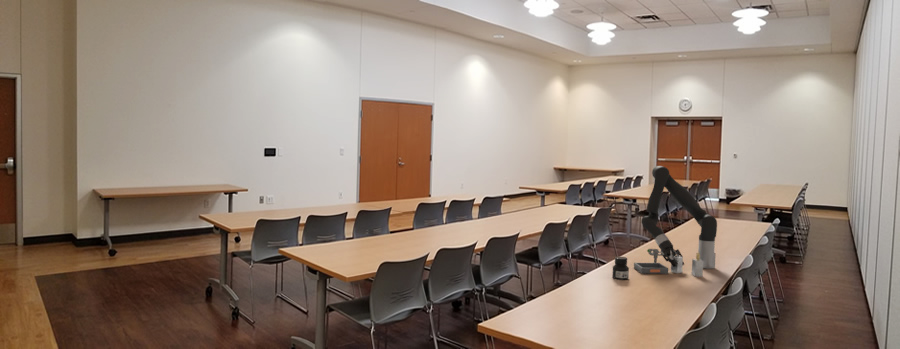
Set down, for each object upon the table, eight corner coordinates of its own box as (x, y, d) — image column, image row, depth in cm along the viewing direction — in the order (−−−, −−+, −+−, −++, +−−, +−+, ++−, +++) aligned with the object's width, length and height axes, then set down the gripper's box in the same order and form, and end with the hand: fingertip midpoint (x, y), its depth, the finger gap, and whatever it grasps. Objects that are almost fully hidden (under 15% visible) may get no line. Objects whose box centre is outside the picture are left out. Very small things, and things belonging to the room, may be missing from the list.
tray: (659, 268, 353) (659, 262, 353) (668, 274, 339) (668, 268, 338) (633, 268, 353) (634, 262, 353) (641, 273, 339) (641, 268, 338)
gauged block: (699, 274, 338) (700, 252, 337) (702, 276, 334) (703, 254, 333) (691, 274, 338) (692, 252, 337) (694, 276, 334) (696, 254, 333)
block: (675, 270, 347) (676, 255, 346) (682, 272, 343) (682, 257, 343) (670, 271, 345) (671, 256, 344) (677, 273, 341) (677, 257, 340)
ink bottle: (617, 280, 322) (617, 259, 321) (608, 276, 331) (609, 256, 330) (632, 279, 325) (632, 259, 324) (623, 275, 333) (624, 255, 333)
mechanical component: (664, 265, 361) (664, 249, 361) (647, 265, 362) (648, 249, 361) (662, 264, 364) (663, 248, 364) (646, 264, 365) (647, 248, 364)
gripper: (659, 240, 345) (675, 263, 336) (675, 238, 353) (690, 260, 343) (652, 247, 350) (667, 270, 341) (667, 245, 358) (683, 267, 348)
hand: (679, 265), depth 342 cm, fingers open, 6 cm apart
